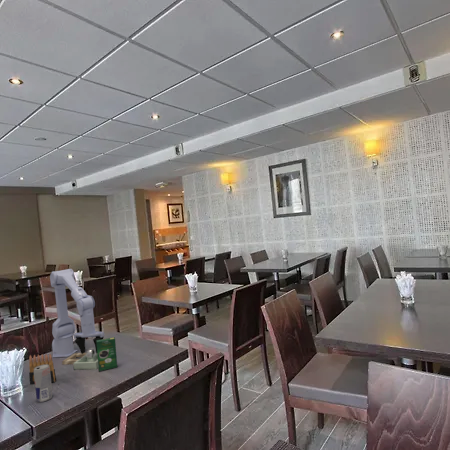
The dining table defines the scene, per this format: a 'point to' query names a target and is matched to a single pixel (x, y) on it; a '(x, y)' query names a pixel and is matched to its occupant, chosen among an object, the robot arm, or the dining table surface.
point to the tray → (85, 364)
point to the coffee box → (106, 354)
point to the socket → (72, 358)
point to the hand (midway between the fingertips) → (90, 352)
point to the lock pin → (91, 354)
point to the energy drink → (43, 383)
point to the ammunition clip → (39, 362)
